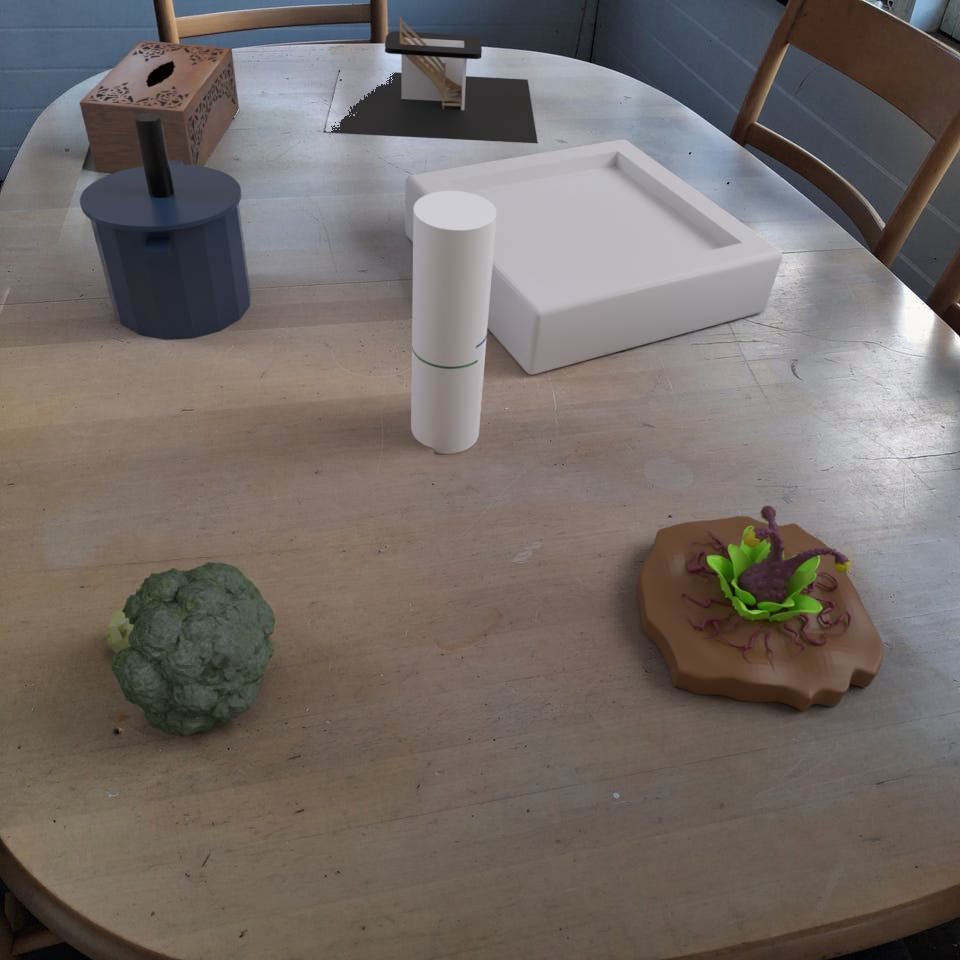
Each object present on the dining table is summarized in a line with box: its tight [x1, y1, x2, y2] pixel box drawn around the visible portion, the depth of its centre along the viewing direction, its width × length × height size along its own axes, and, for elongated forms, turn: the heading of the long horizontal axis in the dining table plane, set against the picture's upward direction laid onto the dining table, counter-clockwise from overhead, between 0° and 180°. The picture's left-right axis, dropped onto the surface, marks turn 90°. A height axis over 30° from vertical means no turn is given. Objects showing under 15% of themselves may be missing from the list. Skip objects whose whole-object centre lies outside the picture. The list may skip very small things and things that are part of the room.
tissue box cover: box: [79, 39, 240, 174], centre depth 138 cm, size 26×14×10 cm, turn 177°
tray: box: [404, 138, 783, 375], centre depth 116 cm, size 35×35×9 cm
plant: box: [636, 505, 884, 713], centre depth 75 cm, size 20×20×11 cm
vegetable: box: [104, 561, 276, 738], centre depth 68 cm, size 12×13×15 cm
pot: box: [89, 161, 252, 341], centre depth 104 cm, size 16×21×14 cm
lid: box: [79, 113, 242, 232], centre depth 95 cm, size 17×17×9 cm
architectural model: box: [331, 17, 538, 144], centre depth 153 cm, size 35×28×14 cm
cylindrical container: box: [410, 191, 497, 455], centre depth 86 cm, size 7×7×25 cm
